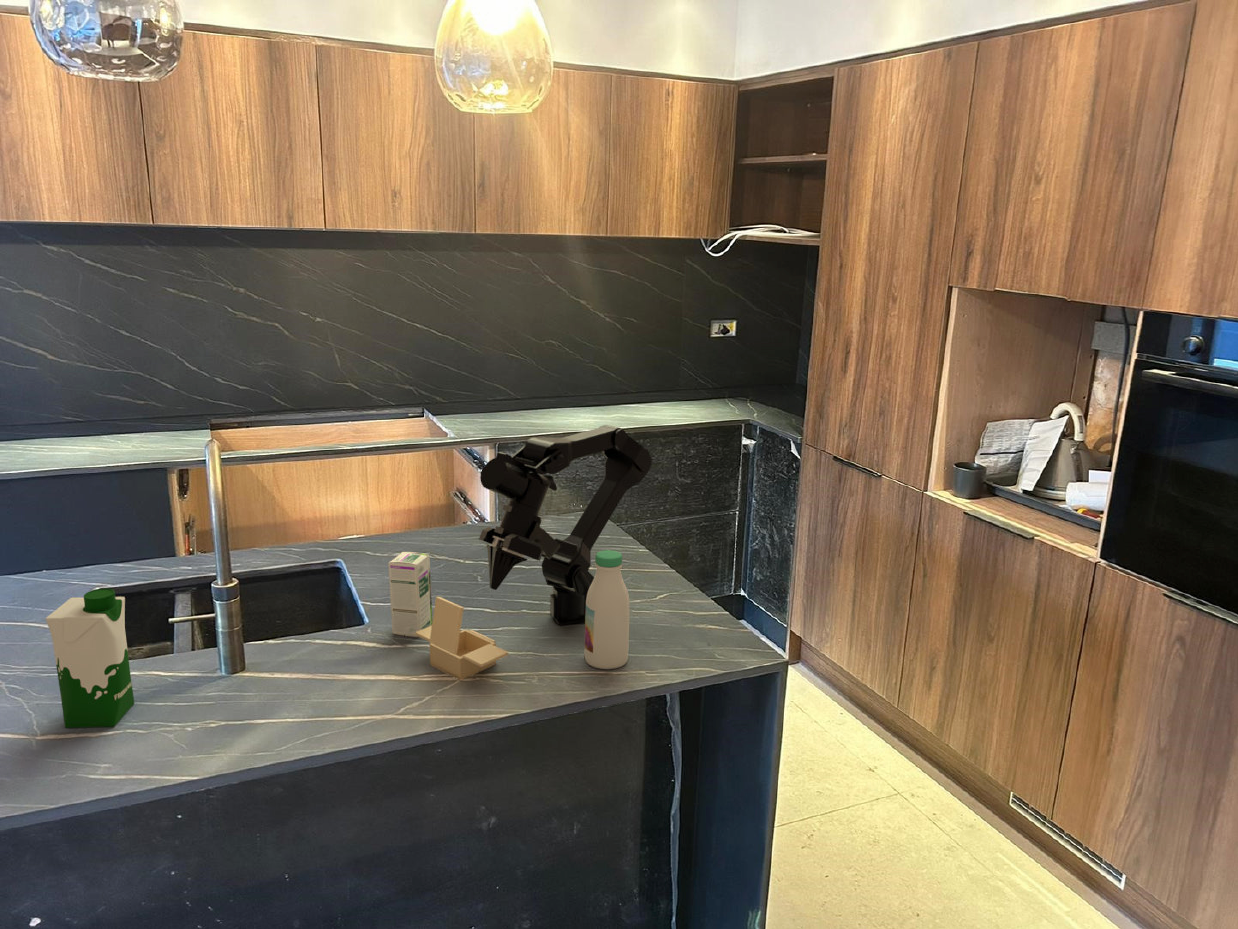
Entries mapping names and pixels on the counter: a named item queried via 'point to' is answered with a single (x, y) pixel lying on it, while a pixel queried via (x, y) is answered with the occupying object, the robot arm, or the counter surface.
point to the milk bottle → (607, 614)
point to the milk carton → (92, 659)
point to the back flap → (446, 625)
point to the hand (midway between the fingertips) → (493, 589)
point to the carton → (464, 654)
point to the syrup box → (410, 593)
